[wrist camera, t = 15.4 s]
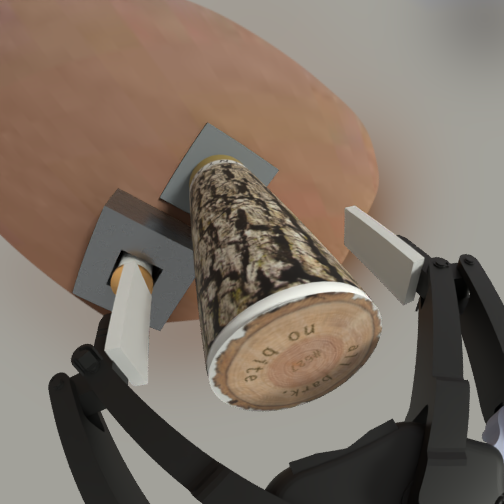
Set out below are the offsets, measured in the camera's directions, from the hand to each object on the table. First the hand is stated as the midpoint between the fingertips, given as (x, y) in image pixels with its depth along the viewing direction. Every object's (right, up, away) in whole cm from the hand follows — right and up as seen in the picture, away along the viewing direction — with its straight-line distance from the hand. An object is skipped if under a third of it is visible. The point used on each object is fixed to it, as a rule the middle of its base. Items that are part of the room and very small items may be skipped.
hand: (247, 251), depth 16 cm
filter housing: (-14, 0, +16) cm, 21 cm away
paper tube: (-4, +8, +14) cm, 17 cm away
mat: (-4, +8, +15) cm, 17 cm away
